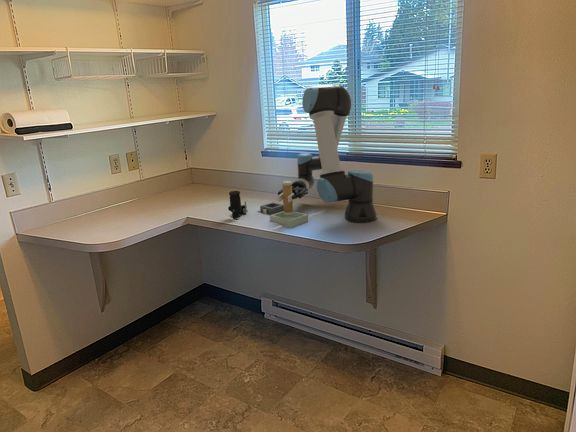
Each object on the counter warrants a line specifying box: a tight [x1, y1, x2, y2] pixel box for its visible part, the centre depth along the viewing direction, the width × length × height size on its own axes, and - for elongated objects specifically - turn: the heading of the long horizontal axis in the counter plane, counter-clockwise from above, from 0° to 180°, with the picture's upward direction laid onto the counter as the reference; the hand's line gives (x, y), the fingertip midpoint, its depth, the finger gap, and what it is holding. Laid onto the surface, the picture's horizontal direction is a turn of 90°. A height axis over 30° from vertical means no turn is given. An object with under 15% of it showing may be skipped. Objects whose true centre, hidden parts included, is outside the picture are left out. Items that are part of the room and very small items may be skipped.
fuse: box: [281, 180, 294, 216], centre depth 212 cm, size 5×5×16 cm
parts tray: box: [269, 210, 309, 229], centre depth 214 cm, size 14×12×4 cm
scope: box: [228, 190, 248, 221], centre depth 223 cm, size 8×14×10 cm
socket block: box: [256, 201, 284, 216], centre depth 231 cm, size 12×12×4 cm
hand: (283, 199), depth 207 cm, fingers closed on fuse, 4 cm apart
